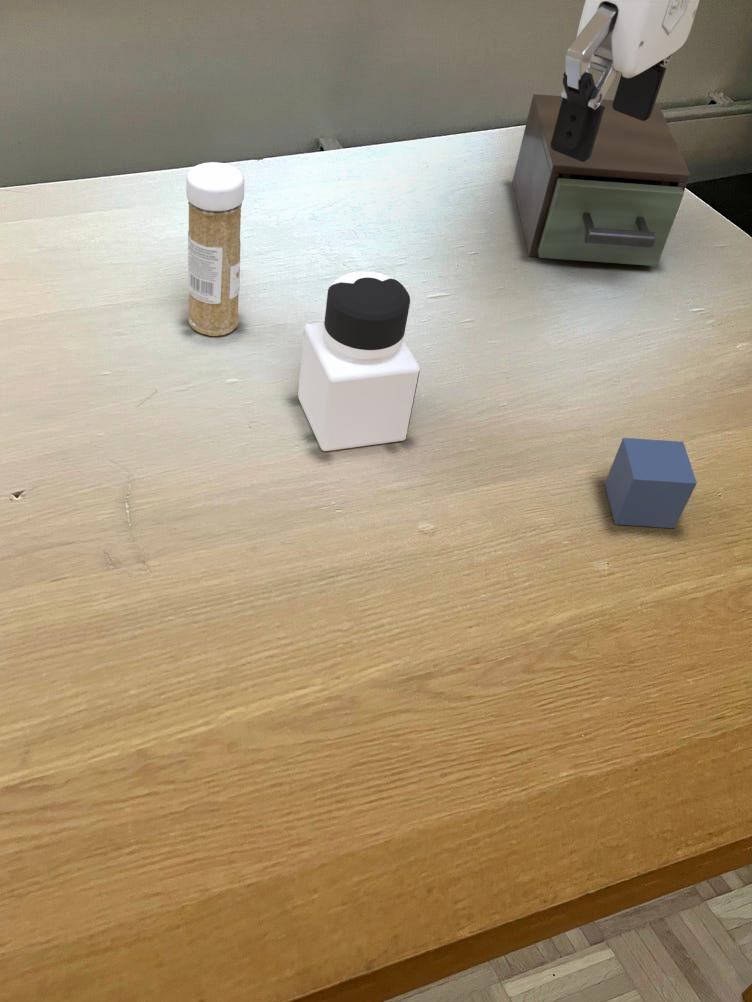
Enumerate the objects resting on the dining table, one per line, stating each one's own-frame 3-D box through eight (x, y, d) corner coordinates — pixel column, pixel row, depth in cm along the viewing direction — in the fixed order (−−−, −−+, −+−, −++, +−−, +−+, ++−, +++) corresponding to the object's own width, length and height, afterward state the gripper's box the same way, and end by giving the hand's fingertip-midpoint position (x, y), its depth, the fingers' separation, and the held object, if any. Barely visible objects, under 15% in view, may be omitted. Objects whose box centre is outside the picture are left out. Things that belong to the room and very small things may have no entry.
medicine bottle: (407, 442, 84) (433, 310, 75) (321, 453, 82) (338, 320, 73) (378, 387, 88) (400, 256, 79) (296, 397, 87) (308, 264, 77)
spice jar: (249, 327, 93) (256, 178, 82) (207, 344, 91) (209, 194, 80) (217, 302, 95) (221, 154, 84) (176, 318, 93) (174, 169, 82)
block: (662, 487, 82) (683, 441, 79) (674, 528, 79) (697, 483, 76) (604, 483, 82) (622, 437, 79) (614, 524, 79) (633, 478, 76)
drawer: (666, 291, 98) (694, 218, 93) (545, 283, 98) (566, 208, 93) (631, 195, 110) (655, 124, 104) (522, 187, 109) (540, 116, 104)
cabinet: (656, 265, 103) (690, 175, 96) (528, 256, 103) (553, 164, 96) (629, 190, 112) (658, 103, 105) (511, 182, 112) (533, 93, 105)
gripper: (669, -84, 64) (587, 190, 77) (783, -138, 72) (692, 116, 86) (561, -116, 66) (501, 153, 80) (684, -164, 75) (611, 85, 89)
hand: (600, 133), depth 83 cm, fingers open, 9 cm apart
